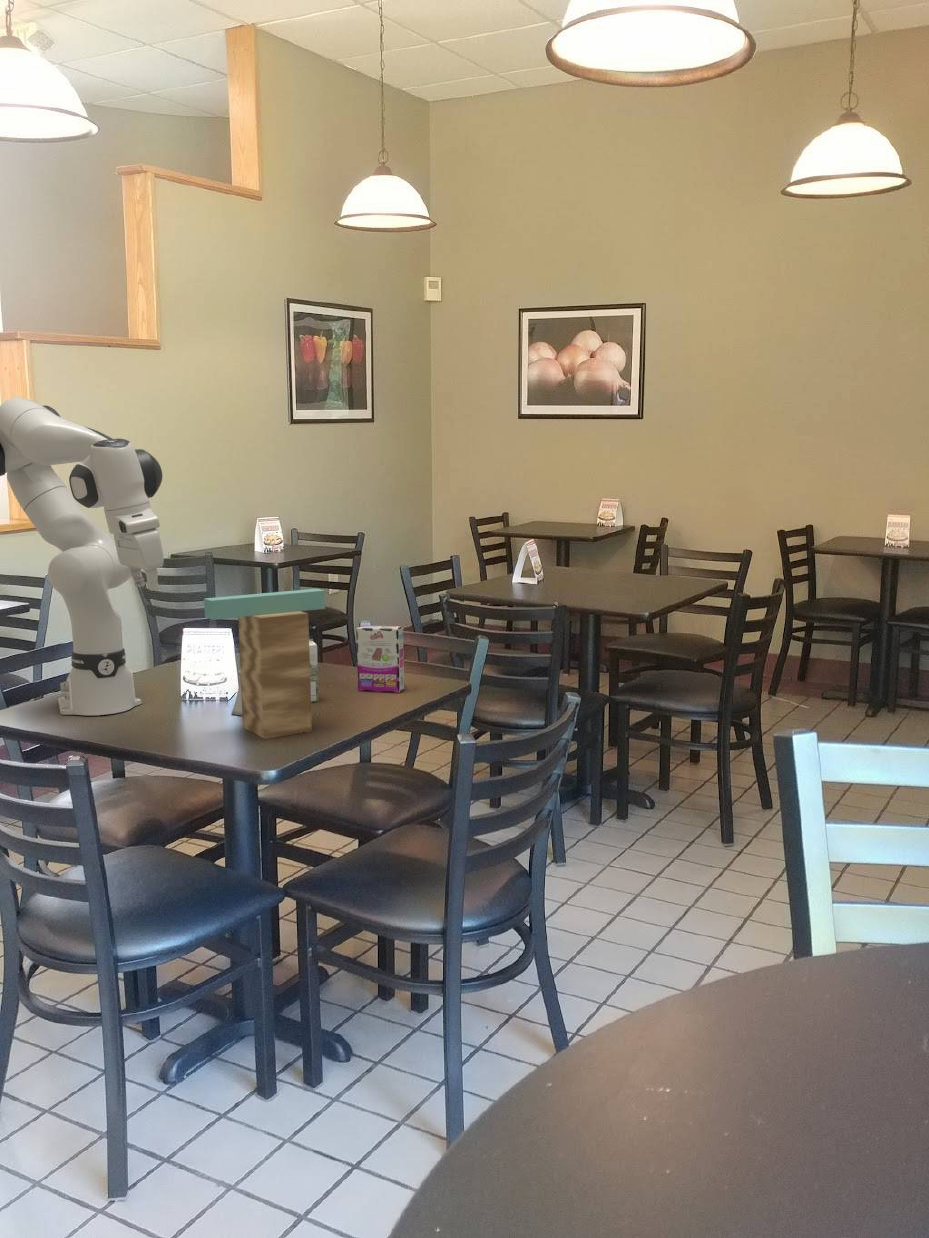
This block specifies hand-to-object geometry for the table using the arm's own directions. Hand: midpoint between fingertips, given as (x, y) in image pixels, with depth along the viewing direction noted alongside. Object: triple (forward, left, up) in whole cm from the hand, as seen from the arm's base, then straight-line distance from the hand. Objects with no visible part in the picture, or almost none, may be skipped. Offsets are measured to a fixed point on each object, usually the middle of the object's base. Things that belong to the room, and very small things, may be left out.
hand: (147, 588), depth 219 cm
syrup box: (-21, +44, -34) cm, 59 cm away
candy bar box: (-20, +65, -34) cm, 76 cm away
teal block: (0, +26, -7) cm, 27 cm away
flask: (-18, +28, -34) cm, 47 cm away
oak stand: (0, +27, -33) cm, 43 cm away
